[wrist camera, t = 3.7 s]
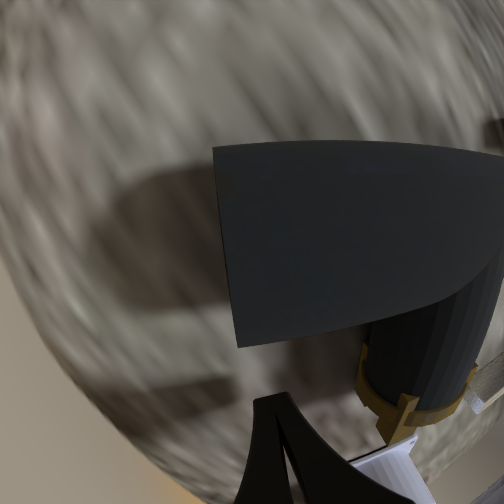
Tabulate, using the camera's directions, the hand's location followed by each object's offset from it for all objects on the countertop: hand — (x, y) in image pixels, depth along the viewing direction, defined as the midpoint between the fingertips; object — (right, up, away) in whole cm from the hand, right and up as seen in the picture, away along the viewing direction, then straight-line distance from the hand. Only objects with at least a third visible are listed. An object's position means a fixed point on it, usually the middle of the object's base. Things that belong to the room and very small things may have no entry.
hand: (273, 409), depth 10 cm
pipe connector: (+6, +5, +2) cm, 8 cm away
